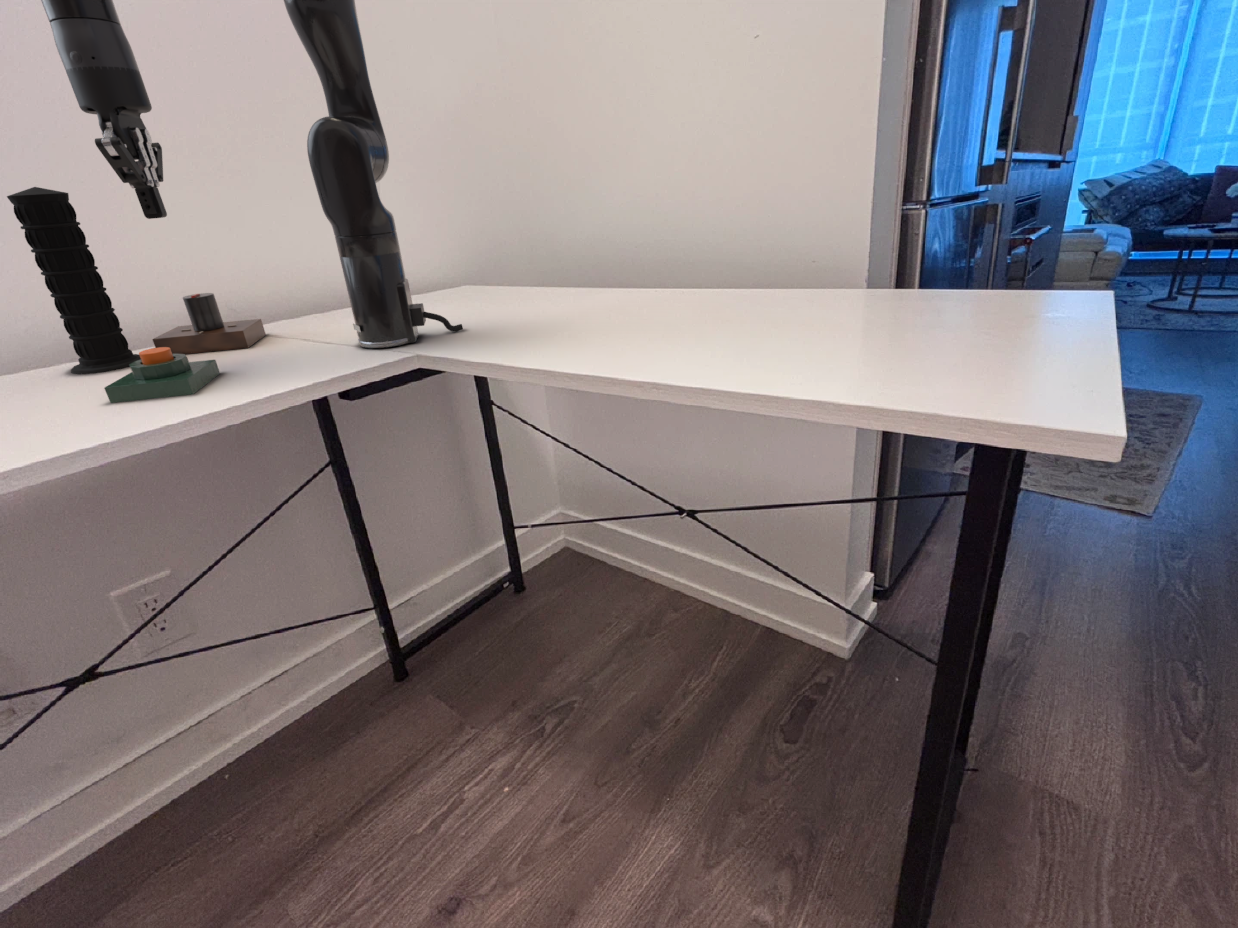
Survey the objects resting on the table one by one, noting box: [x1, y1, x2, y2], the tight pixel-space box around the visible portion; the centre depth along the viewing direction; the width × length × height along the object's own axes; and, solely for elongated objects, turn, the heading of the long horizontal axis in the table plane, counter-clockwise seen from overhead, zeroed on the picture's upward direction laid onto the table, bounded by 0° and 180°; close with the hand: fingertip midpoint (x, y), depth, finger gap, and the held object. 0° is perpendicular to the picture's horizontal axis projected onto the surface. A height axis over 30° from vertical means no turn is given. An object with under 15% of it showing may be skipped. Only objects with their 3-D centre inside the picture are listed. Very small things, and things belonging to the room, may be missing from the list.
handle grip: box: [6, 186, 141, 376], centre depth 95 cm, size 10×26×10 cm
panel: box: [152, 318, 267, 355], centre depth 109 cm, size 14×10×3 cm
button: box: [138, 347, 174, 365], centre depth 85 cm, size 4×4×2 cm
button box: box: [103, 354, 221, 404], centre depth 86 cm, size 10×10×4 cm
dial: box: [182, 292, 224, 331], centre depth 107 cm, size 5×5×6 cm
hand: (157, 217), depth 84 cm, fingers closed
